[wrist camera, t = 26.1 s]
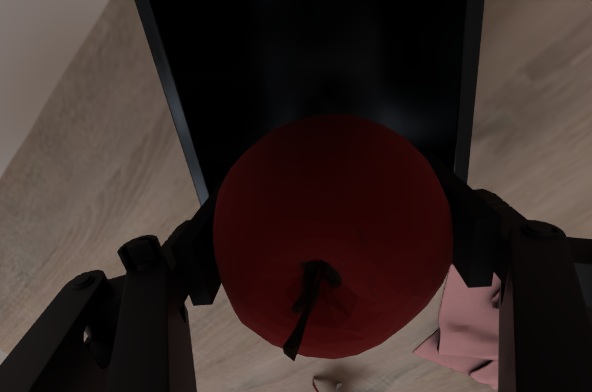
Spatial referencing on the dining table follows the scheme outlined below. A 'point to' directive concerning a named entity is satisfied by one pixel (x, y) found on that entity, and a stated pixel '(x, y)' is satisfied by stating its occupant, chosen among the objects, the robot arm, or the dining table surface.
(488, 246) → the robot arm
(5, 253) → the dining table surface
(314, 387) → the fish
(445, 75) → the box
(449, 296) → the cloth
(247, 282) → the apple
